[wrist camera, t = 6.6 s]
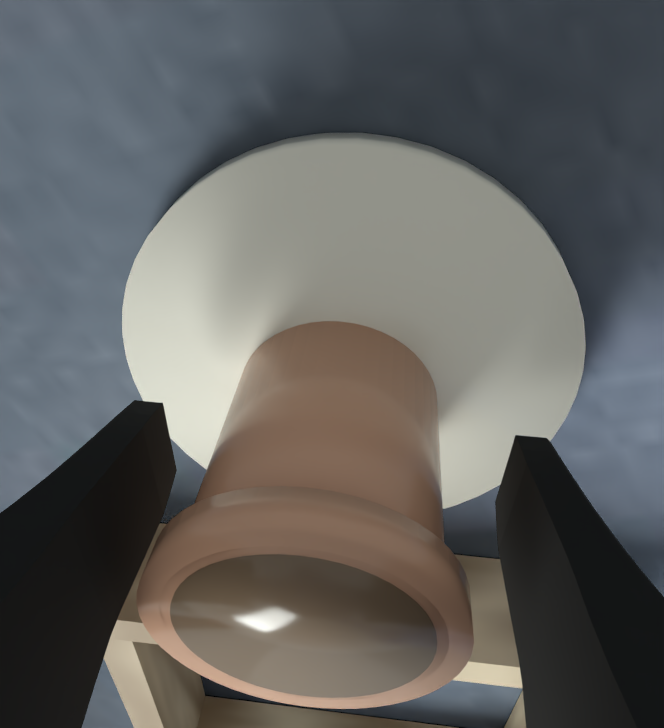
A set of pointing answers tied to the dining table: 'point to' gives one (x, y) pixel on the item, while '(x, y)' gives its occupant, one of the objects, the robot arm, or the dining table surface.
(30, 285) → the dining table surface
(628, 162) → the dining table surface
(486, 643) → the cold frame
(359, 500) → the terracotta pot
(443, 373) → the saucer
